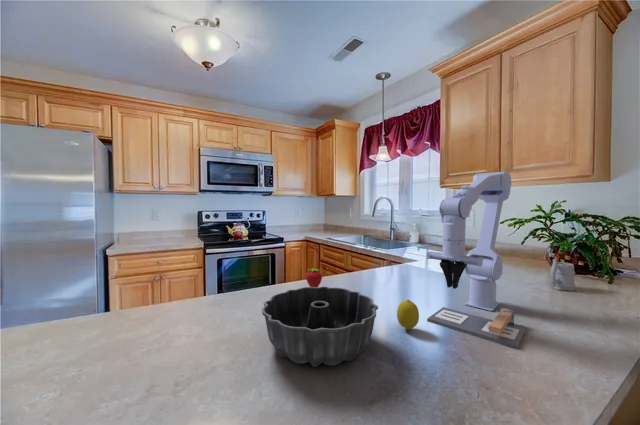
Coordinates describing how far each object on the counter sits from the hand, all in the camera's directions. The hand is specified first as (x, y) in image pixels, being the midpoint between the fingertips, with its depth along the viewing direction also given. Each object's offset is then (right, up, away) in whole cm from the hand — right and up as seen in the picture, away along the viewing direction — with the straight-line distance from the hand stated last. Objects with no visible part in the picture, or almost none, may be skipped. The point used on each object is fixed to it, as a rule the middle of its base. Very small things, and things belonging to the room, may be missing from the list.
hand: (452, 287), depth 80 cm
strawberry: (-40, -8, +25) cm, 48 cm away
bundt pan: (-38, -10, -15) cm, 42 cm away
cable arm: (+10, -7, -7) cm, 14 cm away
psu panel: (+4, -10, -4) cm, 11 cm away
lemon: (-15, -10, -6) cm, 19 cm away
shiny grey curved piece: (+14, -10, -2) cm, 17 cm away
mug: (+57, -9, +31) cm, 66 cm away
